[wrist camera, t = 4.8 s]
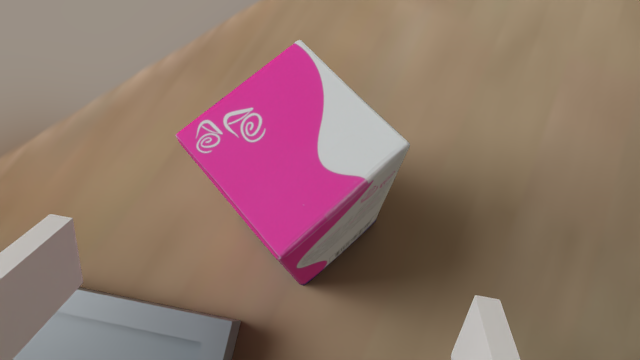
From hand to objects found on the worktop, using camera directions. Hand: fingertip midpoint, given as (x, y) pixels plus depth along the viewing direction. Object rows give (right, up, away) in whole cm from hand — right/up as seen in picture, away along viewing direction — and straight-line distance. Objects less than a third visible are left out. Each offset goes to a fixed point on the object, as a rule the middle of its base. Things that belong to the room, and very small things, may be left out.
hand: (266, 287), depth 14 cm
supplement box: (+1, +1, +11) cm, 11 cm away
